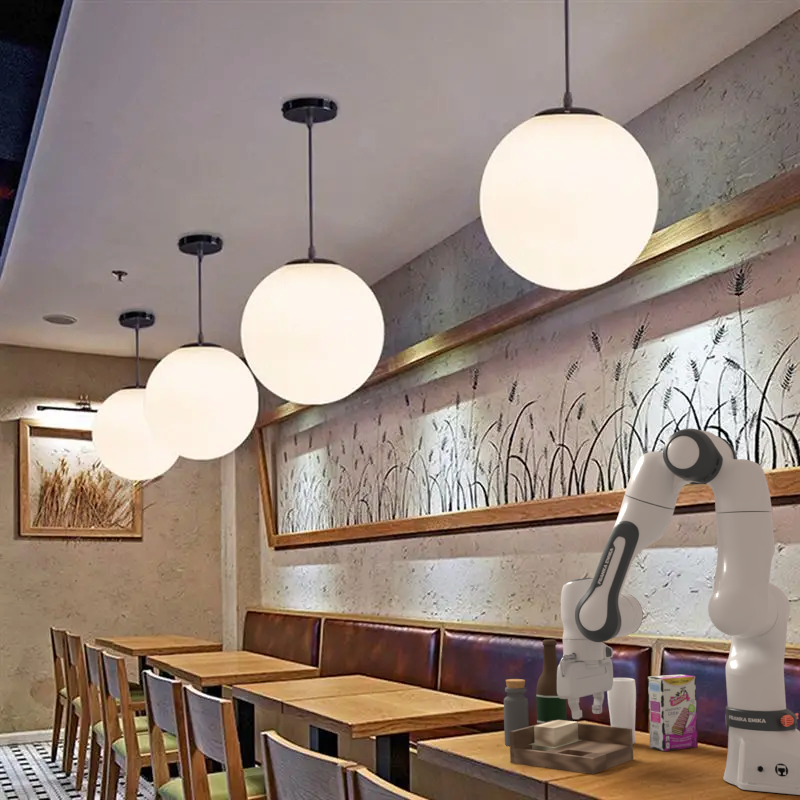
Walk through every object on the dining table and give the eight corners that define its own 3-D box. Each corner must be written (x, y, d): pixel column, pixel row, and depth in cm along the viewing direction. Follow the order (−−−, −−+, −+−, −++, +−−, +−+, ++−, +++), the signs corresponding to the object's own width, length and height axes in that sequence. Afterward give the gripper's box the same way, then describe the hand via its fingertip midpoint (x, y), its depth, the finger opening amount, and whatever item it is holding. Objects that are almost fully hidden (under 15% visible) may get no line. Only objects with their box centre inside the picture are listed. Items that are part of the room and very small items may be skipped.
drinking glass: (638, 746, 232) (635, 681, 234) (609, 745, 233) (606, 680, 236) (637, 741, 238) (634, 677, 241) (609, 740, 240) (606, 677, 242)
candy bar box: (665, 752, 225) (661, 678, 228) (649, 748, 229) (646, 676, 232) (700, 747, 231) (696, 675, 233) (684, 744, 235) (680, 673, 238)
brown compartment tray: (633, 759, 217) (632, 728, 218) (593, 774, 203) (592, 741, 204) (553, 749, 229) (552, 720, 231) (510, 762, 215) (509, 731, 216)
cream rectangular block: (578, 740, 224) (577, 721, 225) (554, 747, 216) (553, 728, 216) (559, 737, 227) (558, 719, 228) (534, 744, 219) (534, 726, 219)
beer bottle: (561, 744, 236) (557, 641, 240) (531, 741, 240) (528, 640, 244) (573, 739, 242) (570, 639, 246) (544, 736, 246) (541, 638, 250)
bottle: (500, 743, 237) (498, 679, 239) (520, 741, 239) (518, 678, 242) (513, 747, 232) (512, 681, 234) (534, 745, 234) (532, 680, 237)
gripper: (573, 655, 210) (577, 723, 208) (616, 648, 226) (620, 711, 224) (547, 655, 214) (551, 721, 212) (591, 648, 230) (595, 709, 227)
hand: (587, 716), depth 218 cm, fingers open, 8 cm apart
